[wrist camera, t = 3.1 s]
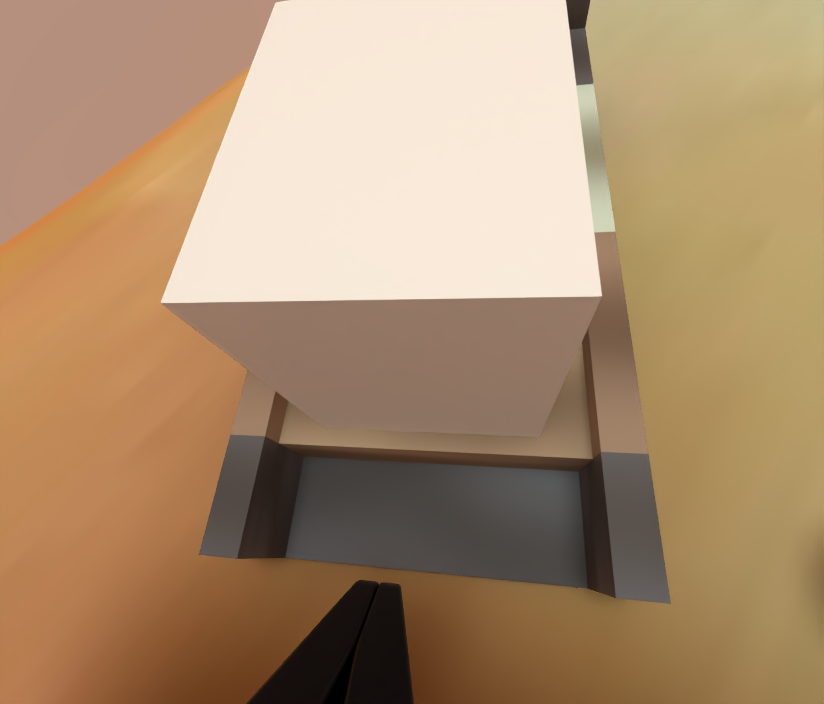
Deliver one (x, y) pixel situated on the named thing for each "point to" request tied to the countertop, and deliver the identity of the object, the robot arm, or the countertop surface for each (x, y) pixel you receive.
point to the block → (401, 216)
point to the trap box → (467, 463)
